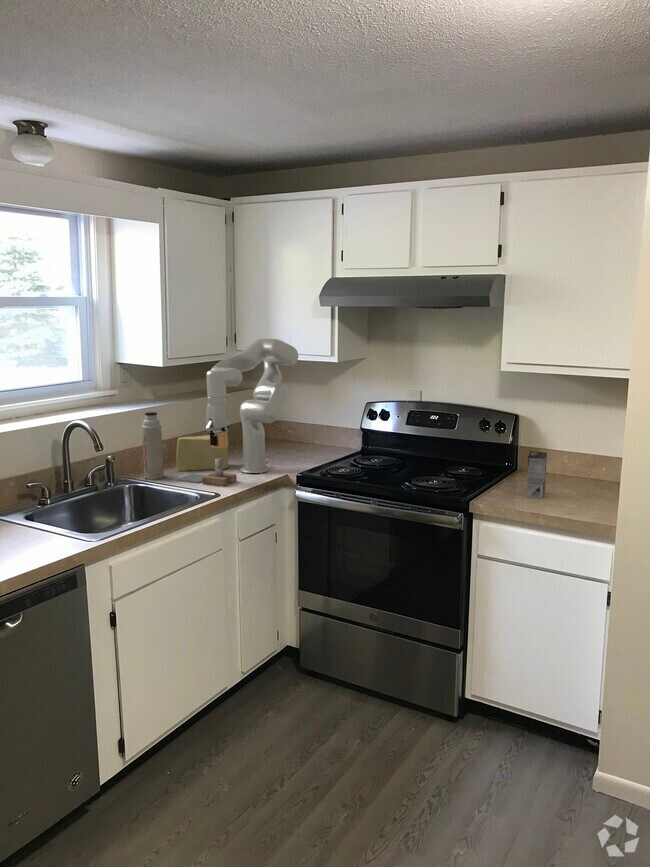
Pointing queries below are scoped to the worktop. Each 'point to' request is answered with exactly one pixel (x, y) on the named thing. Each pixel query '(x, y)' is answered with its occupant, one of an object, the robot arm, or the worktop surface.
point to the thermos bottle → (152, 447)
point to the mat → (192, 478)
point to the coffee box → (536, 474)
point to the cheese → (198, 454)
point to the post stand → (219, 475)
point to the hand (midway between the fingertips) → (219, 443)
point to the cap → (221, 439)
